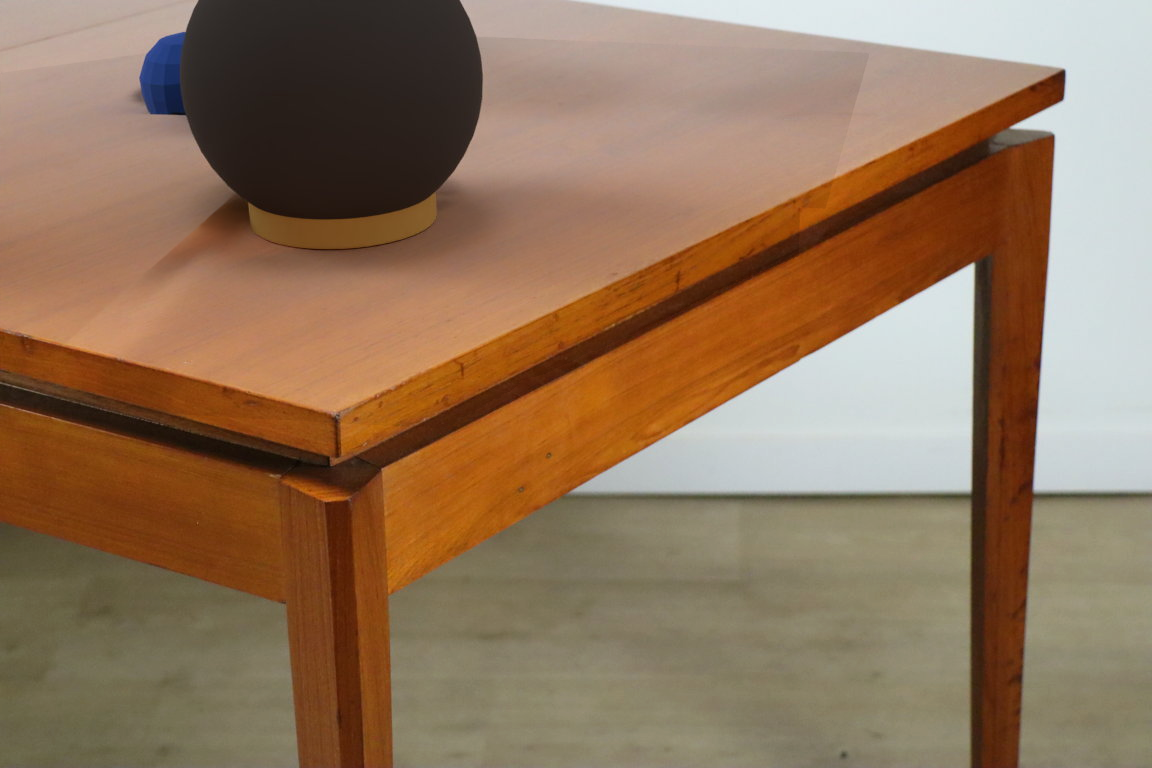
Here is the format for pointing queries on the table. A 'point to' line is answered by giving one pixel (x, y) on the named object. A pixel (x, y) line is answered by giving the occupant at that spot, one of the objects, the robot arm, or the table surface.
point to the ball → (333, 111)
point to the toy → (163, 76)
